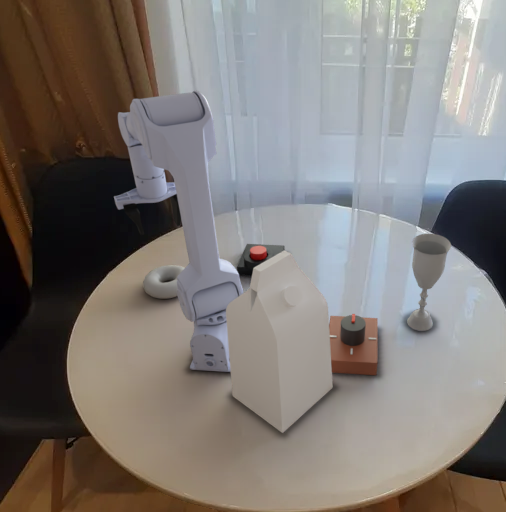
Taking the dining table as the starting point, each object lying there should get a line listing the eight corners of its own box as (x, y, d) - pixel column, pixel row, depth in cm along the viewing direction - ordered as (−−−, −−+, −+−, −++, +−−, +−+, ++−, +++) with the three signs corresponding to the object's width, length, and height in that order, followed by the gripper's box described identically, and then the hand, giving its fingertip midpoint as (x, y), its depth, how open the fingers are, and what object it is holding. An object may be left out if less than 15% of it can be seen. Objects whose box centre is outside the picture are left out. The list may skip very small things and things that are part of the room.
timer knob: (364, 346, 85) (365, 330, 83) (339, 345, 86) (339, 329, 83) (365, 330, 89) (366, 314, 87) (341, 329, 89) (341, 312, 87)
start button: (265, 261, 106) (264, 254, 105) (249, 260, 106) (248, 253, 105) (268, 252, 109) (267, 245, 108) (252, 251, 109) (251, 245, 108)
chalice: (436, 337, 92) (450, 257, 82) (400, 331, 93) (410, 252, 83) (437, 313, 98) (451, 235, 87) (404, 308, 99) (413, 231, 88)
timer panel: (376, 375, 84) (377, 362, 82) (324, 372, 84) (324, 359, 83) (376, 330, 94) (377, 317, 92) (330, 327, 94) (330, 314, 92)
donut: (183, 304, 100) (199, 275, 108) (180, 290, 98) (197, 262, 106) (137, 300, 100) (156, 272, 108) (133, 287, 98) (152, 260, 106)
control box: (277, 279, 107) (276, 263, 105) (237, 277, 108) (235, 261, 105) (284, 253, 116) (284, 238, 113) (247, 251, 116) (246, 237, 114)
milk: (283, 356, 87) (274, 230, 72) (332, 387, 82) (334, 257, 66) (232, 395, 80) (210, 264, 65) (282, 433, 74) (270, 297, 59)
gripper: (178, 155, 100) (186, 209, 109) (104, 169, 94) (119, 225, 103) (190, 171, 96) (197, 227, 105) (114, 187, 90) (128, 244, 99)
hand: (159, 227), depth 104 cm, fingers open, 7 cm apart
